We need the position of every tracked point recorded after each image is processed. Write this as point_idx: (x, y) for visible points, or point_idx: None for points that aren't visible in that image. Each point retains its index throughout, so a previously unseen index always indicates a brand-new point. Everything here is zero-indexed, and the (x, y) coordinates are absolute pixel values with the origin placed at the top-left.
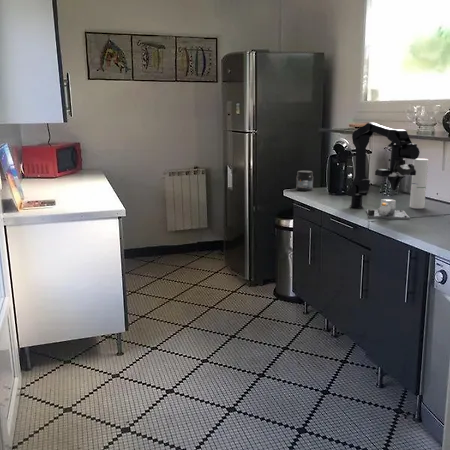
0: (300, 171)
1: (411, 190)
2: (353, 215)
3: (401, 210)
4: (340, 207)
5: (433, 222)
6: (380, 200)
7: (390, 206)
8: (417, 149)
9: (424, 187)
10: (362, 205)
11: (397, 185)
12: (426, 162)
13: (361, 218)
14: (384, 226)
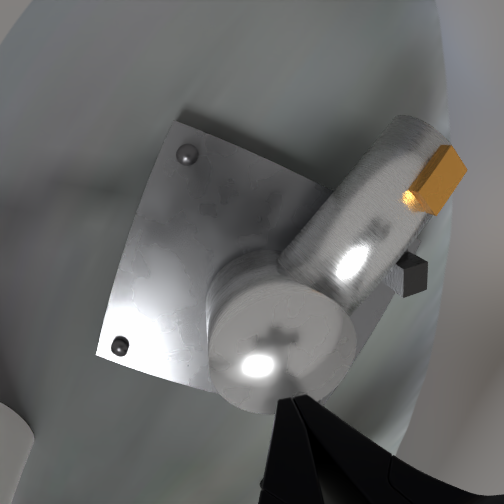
0: None
1: (8, 498)
2: (435, 317)
3: (119, 345)
4: None
5: (72, 22)
6: (345, 372)
7: (331, 221)
8: None
9: None
10: (261, 484)
11: (275, 457)
12: None
13: (447, 239)
14: (433, 27)
